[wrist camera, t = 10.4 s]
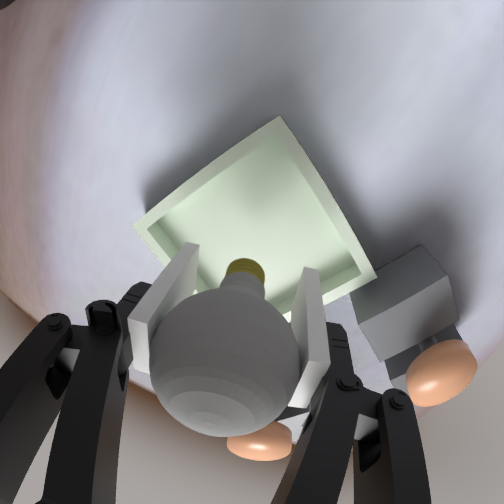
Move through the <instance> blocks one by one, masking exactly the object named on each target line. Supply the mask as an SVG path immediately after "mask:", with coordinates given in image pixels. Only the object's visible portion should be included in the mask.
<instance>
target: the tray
mask: <svg viewBox="0 0 504 504" xmlns="http://www.w3.org/2000/svg"><path fill="white" fill-rule="evenodd" d="M132 227H133V228H134V230H135V231H136V232H137V234H138V235H139V236H140V237H141V239H142V240H143V241H144V243H145V244H146V245H147V246H148V248H149V249H150V250H151V251H152V253H153V254H154V255H155V256H156V258H157V259H158V260H159V261H160V262H161V264H162V265H163V266H164V267H166V266H167V265H168V264H169V262H170V261H171V260H172V258H173V257H174V256H175V255H176V253H177V252H178V251H179V250H180V248H181V247H182V246H183V245H184V243H185V242H190V243H194V244H199V245H200V246H199V256H198V266H197V277H196V288H195V290H194V292H193V294H192V295H194V294H197V293H200V292H203V291H206V290H210V289H215V288H219V287H220V284H221V282H222V280H223V279H224V277H225V274H226V270H227V267H228V266H229V264H230V263H231V262H232V261H234V260H236V259H240V258H249V259H252V260H254V261H256V262H257V263H258V264H260V266H261V267H262V268H263V270H264V273H265V282H264V288H265V300H267V301H268V302H269V303H270V304H272V305H273V306H274V307H275V308H276V309H277V310H278V311H279V312H280V313H281V314H282V315H283V316H284V318H285V319H286V320H287V321H288V323H289V322H291V309H292V305H293V302H294V299H295V295H296V292H297V289H298V285H299V282H300V279H301V275H302V272H303V268H304V267H308V268H313V269H317V270H318V272H319V278H320V285H321V291H322V298H323V305H326V304H328V303H330V302H332V301H334V300H336V299H338V298H340V297H342V296H344V295H346V294H348V293H349V292H351V291H353V290H355V289H357V288H359V287H361V286H363V285H365V284H366V283H368V282H370V281H372V280H374V279H376V278H377V276H376V274H375V272H374V270H373V267H372V265H371V263H370V261H369V259H368V258H367V256H366V254H365V252H364V250H363V248H362V246H361V244H360V243H359V241H358V239H357V237H356V235H355V233H354V232H353V230H352V228H351V226H350V224H349V223H348V221H347V219H346V217H345V216H344V214H343V212H342V211H341V209H340V207H339V205H338V204H337V202H336V200H335V199H334V197H333V195H332V194H331V192H330V190H329V189H328V187H327V185H326V184H325V182H324V181H323V179H322V177H321V176H320V174H319V173H318V171H317V169H316V168H315V166H314V165H313V163H312V162H311V160H310V159H309V157H308V156H307V154H306V153H305V151H304V150H303V148H302V147H301V145H300V144H299V142H298V141H297V139H296V138H295V136H294V135H293V133H292V132H291V130H290V129H289V127H288V126H287V125H286V123H285V122H284V120H283V119H282V118H281V116H280V115H279V116H278V117H276V118H275V119H273V120H272V121H270V122H269V123H267V124H266V125H264V126H262V127H261V128H259V129H258V130H256V131H255V132H253V133H252V134H251V135H249V136H248V137H246V138H245V139H243V140H242V141H240V142H239V143H237V144H236V145H235V146H233V147H232V148H230V149H229V150H227V151H226V152H225V153H223V154H222V155H220V156H219V157H218V158H216V159H215V160H214V161H212V162H211V163H210V164H208V165H207V166H205V167H204V168H203V169H201V170H200V171H199V172H197V173H196V174H195V175H194V176H192V177H191V178H190V179H188V180H187V181H186V182H184V183H183V184H182V185H181V186H179V187H178V188H177V189H176V190H174V191H173V192H172V193H171V194H169V195H168V196H167V197H166V198H164V199H163V200H162V201H161V202H159V203H158V204H157V205H156V206H155V207H153V208H152V209H151V210H150V211H149V212H147V213H146V214H145V215H144V216H143V217H142V218H140V219H139V220H138V221H137V222H136V223H135V224H133V225H132Z"/></svg>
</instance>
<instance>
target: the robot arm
mask: <svg viewBox="0 0 504 504" xmlns="http://www.w3.org/2000/svg"><path fill="white" fill-rule="evenodd" d="M13 1H15V0H0V10H1V9H3V8H5V7H6V6H8V5H9V4H11V3H12V2H13ZM199 246H200V245H199V244H194V243H190V242H185V243H184V245H183V246H182V247H181V248H180V250H179V251H178V252H177V253H176V255H175V256H174V257H173V258H172V260H171V261H170V262H169V264H168V265H167V266H166V267H165V269H164V270H163V271H162V273H161V274H160V275H159V276H158V278H157V279H156V280H155V282H154V283H153V284H148V283H145V282H139V283H137V284H135V285H133V286H132V287H131V288H130V289H129V290H128V292H127V293H126V294H125V295H124V296H123V298H122V300H120V301H119V302H118V304H116V303H114V302H113V301H109V300H98V301H94V302H92V303H90V304H89V305H88V306H87V307H86V308H85V310H86V315H87V320H88V325H89V326H81V325H71V322H70V319H69V318H68V316H66V315H64V314H61V313H52V314H50V315H47V316H46V317H45V318H43V319H42V320H41V321H40V323H39V324H38V325H37V326H36V327H35V328H34V329H33V330H32V332H31V333H30V334H29V335H28V336H27V337H26V338H25V340H24V341H23V342H22V343H21V344H20V345H19V347H18V348H17V349H16V350H15V351H14V353H13V354H12V355H11V356H10V357H9V359H8V360H7V361H6V362H5V364H4V365H3V366H2V367H1V369H0V504H12V503H13V501H14V499H15V496H16V494H17V492H18V490H19V488H20V486H21V484H22V482H23V479H24V477H25V475H26V473H27V471H28V469H29V467H30V465H31V463H32V461H33V459H34V457H35V455H36V453H37V451H38V450H39V448H40V446H41V444H42V442H43V440H44V438H45V436H46V435H47V433H48V431H49V429H50V428H51V426H52V424H53V422H54V420H55V418H56V417H57V415H58V413H59V412H60V414H59V418H58V422H57V426H56V430H55V434H54V439H53V442H52V447H51V452H50V456H49V462H48V467H47V473H46V478H45V484H44V491H43V496H42V499H41V500H40V501H39V502H37V503H35V504H115V501H116V499H115V498H116V481H117V467H118V455H119V445H120V436H121V427H122V420H123V412H124V405H125V398H126V392H127V386H128V380H129V369H128V368H129V366H130V364H131V362H132V361H133V365H134V369H136V370H139V371H142V372H145V373H148V374H150V371H149V354H150V345H151V342H152V339H153V337H154V335H155V333H156V331H157V329H158V327H159V325H160V323H161V321H162V320H163V318H164V317H165V316H166V315H167V314H168V313H169V312H170V311H171V310H172V309H173V308H174V307H175V306H176V305H177V304H179V303H180V302H181V301H182V300H184V299H186V298H187V297H189V296H192V294H193V292H194V290H195V288H196V277H197V266H198V256H199ZM291 328H292V330H293V333H294V336H295V338H296V341H297V344H298V347H299V351H300V378H299V382H298V385H297V387H296V390H295V392H294V394H293V397H292V399H291V401H290V402H289V404H288V406H290V407H298V408H307V407H308V405H309V403H310V401H311V411H310V413H309V414H308V416H307V418H306V419H305V421H304V422H303V424H302V426H301V427H303V429H302V431H301V434H300V437H299V439H298V442H297V444H296V447H295V449H294V452H293V454H292V457H291V459H290V462H289V464H288V466H287V469H286V471H285V473H284V476H283V478H282V480H281V483H280V485H279V487H278V489H277V491H276V493H275V496H274V498H273V500H272V502H271V504H337V501H338V497H339V494H340V491H341V487H342V484H343V480H344V477H345V473H346V469H347V465H348V461H349V457H350V453H351V449H352V445H353V467H354V468H353V469H354V504H431V496H430V488H429V481H428V475H427V469H426V464H425V458H424V452H423V447H422V442H421V438H420V432H419V428H418V424H417V419H416V415H415V411H414V407H413V403H412V400H411V398H410V397H409V396H408V395H407V393H405V392H404V391H402V390H400V389H396V388H392V389H388V390H386V391H385V392H384V393H383V395H382V394H380V393H377V392H374V391H371V390H369V389H367V388H365V387H363V383H362V381H361V380H360V378H359V377H358V376H357V375H355V374H354V370H353V365H352V359H351V354H350V349H349V343H348V338H347V333H346V331H345V330H344V328H343V327H342V326H341V324H336V323H330V322H326V320H325V313H324V305H323V298H322V291H321V285H320V278H319V272H318V270H317V269H313V268H308V267H304V268H303V272H302V275H301V279H300V282H299V285H298V289H297V292H296V295H295V299H294V302H293V305H292V309H291ZM60 410H61V411H60Z"/></svg>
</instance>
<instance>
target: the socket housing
mask: <svg viewBox="0 0 504 504" xmlns="http://www.w3.org/2000/svg"><path fill="white" fill-rule="evenodd" d="M374 272H375V274H376V276H377V278H376V279H374V280H372V281H370V282H368V283H366V284H365V285H363V286H361V287H359V288H357V289H355V290H353V291H351V292H349V293H350V297H351V300H352V304H353V307H354V311H355V315H356V318H357V322H358V325H359V327H360V329H361V330H362V332H363V334H364V335H365V337H366V339H367V341H368V342H369V344H370V346H371V347H372V349H373V351H374V353H375V354H376V356H377V358H378V360H379V362H382V361H385V364H386V368H387V371H388V375H389V378H390V381H391V383H392V385H393V387H394V388H396V389H400V390H402V391H404V392H405V393H407V395H408V396H409V397H410V395H409V392H408V389H407V385H406V382H405V375H406V372H407V370H408V368H409V366H410V365H411V363H412V362H413V361H414V360H415V359H416V358H417V357H418V356H419V355H420V354H421V350H420V348H419V346H418V343H419V342H421V341H423V340H425V339H427V338H429V337H430V336H432V335H434V336H435V338H436V340H437V342H438V343H440V342H443V341H446V340H451V339H458V340H462V338H461V336H460V335H459V333H458V331H457V329H456V328H455V326H454V324H453V323H454V322H456V321H458V320H459V317H458V312H457V308H456V304H455V300H454V296H453V292H452V288H451V285H450V281H449V278H448V275H447V273H446V272H445V271H444V270H443V269H442V267H441V266H440V265H439V264H438V263H437V261H436V260H435V259H434V258H433V257H432V256H431V254H430V253H429V252H428V251H427V250H426V249H425V248H424V246H423V245H422V244H421V245H419V246H418V247H416V248H414V249H413V250H411V251H409V252H408V253H406V254H404V255H403V256H401V257H399V258H397V259H396V260H394V261H392V262H390V263H389V264H387V265H385V266H383V267H382V268H380V269H378V270H376V271H374ZM462 341H463V340H462ZM310 411H311V401H310V403H309V405H308V407H307V408H298V407H290V406H288V405H287V407H286V408H285V409H284V411H283V412H282V413H281V414H280V415H279V416H278V417H277V418H276V419H275V420H273V421H276V422H279V423H282V424H284V425H285V426H287V427H288V428H289V429H290V430H291V432H292V442H293V441H297V440H298V439H299V437H300V434H301V431H302V429H303V427H301V426H302V424H303V422H304V421H305V419H306V418H307V416H308V414H309V413H310Z"/></svg>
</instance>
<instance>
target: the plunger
mask: <svg viewBox="0 0 504 504" xmlns="http://www.w3.org/2000/svg"><path fill="white" fill-rule="evenodd" d="M291 443H292V432H291V430H290V429H289V428H288V427H287V426H285V425H284V424H282V423H279V422H276V421H272V422H271V423H269V424H268V425H266V426H265V427H263V428H262V429H260V430H257V431H255V432H252V433H249V434H246V435H240V436H234V437H228V440H227V447H228V449H229V450H230V451H231V452H232V453H234V454H236V455H238V456H240V457H243V458H247V459H252V460H259V461H267V460H268V461H270V460H277V459H281V458H283V457H285V456H287V455H288V454H289V453H290V452H291Z"/></svg>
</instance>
